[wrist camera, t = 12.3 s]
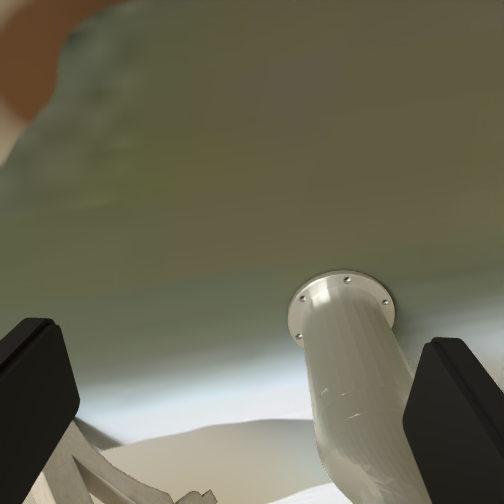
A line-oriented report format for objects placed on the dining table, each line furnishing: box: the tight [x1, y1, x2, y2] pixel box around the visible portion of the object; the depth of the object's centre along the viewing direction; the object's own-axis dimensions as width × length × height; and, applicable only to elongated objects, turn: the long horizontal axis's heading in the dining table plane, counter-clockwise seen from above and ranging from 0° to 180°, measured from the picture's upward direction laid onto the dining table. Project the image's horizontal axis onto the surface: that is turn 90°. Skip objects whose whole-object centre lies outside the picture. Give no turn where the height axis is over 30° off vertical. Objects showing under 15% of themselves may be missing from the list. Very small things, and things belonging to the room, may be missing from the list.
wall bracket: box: [31, 420, 217, 504], centre depth 54 cm, size 22×4×30 cm
